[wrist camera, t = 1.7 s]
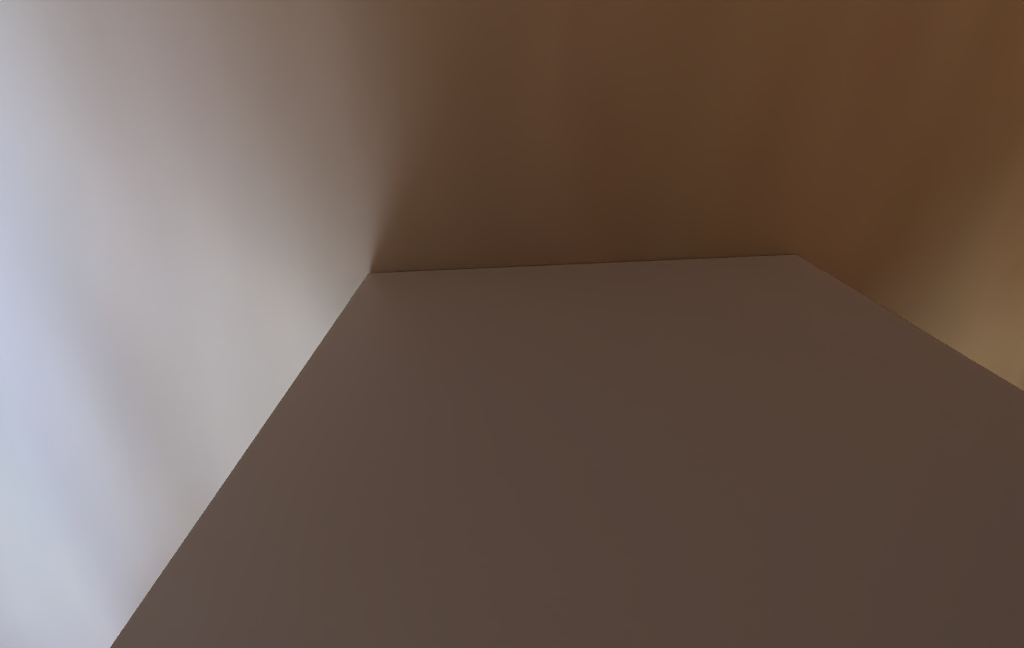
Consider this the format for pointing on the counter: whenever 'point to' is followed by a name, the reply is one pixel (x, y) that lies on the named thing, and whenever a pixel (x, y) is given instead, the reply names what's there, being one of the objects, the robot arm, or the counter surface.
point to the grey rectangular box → (615, 474)
